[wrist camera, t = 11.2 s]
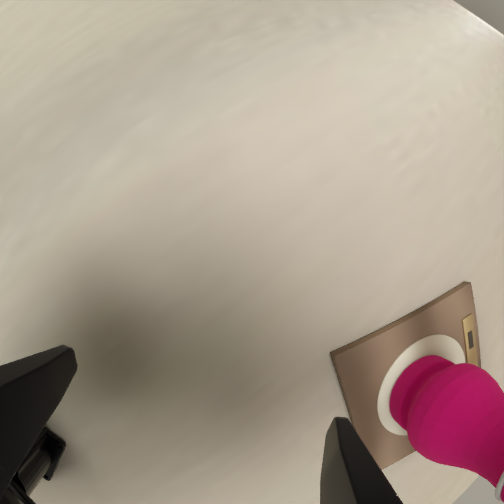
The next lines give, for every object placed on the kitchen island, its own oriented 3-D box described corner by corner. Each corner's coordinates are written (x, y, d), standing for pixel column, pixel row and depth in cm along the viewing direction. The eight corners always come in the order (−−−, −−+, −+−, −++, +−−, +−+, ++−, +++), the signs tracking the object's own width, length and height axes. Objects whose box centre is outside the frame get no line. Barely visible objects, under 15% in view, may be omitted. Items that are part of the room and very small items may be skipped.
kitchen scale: (365, 471, 21) (369, 477, 20) (330, 352, 21) (335, 357, 20) (477, 401, 22) (483, 405, 21) (464, 281, 22) (472, 282, 21)
